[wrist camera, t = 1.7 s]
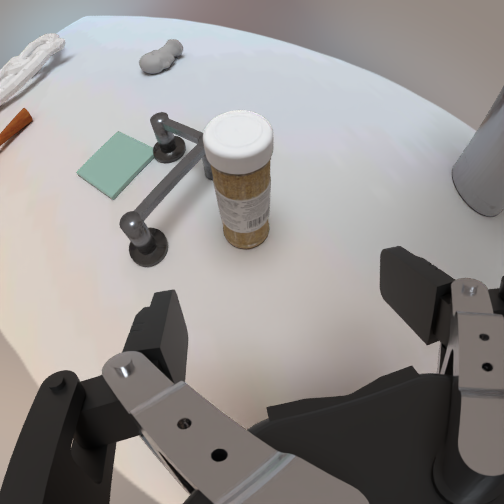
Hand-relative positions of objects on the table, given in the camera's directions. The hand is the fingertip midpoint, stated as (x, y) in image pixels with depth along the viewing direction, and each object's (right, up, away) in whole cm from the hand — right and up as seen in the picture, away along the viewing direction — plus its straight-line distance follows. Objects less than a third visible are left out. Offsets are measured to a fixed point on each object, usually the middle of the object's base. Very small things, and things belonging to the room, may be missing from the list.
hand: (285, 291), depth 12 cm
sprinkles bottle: (-2, +4, +20) cm, 20 cm away
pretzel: (-57, +42, +38) cm, 81 cm away
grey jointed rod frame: (-11, +8, +22) cm, 26 cm away
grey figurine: (-16, +33, +33) cm, 50 cm away
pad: (-18, +12, +24) cm, 32 cm away
